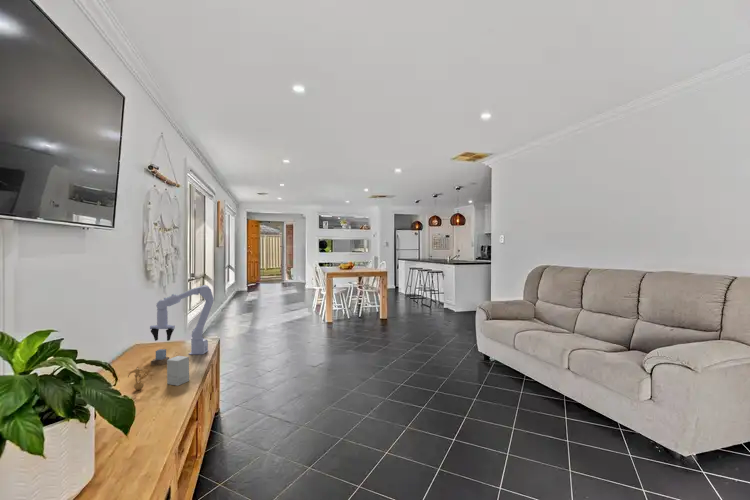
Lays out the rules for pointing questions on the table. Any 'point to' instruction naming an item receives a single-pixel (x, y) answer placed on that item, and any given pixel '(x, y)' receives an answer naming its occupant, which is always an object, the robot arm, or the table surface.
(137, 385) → the figurine
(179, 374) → the supplement box
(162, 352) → the blue block
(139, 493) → the table surface
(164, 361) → the walnut pedestal
